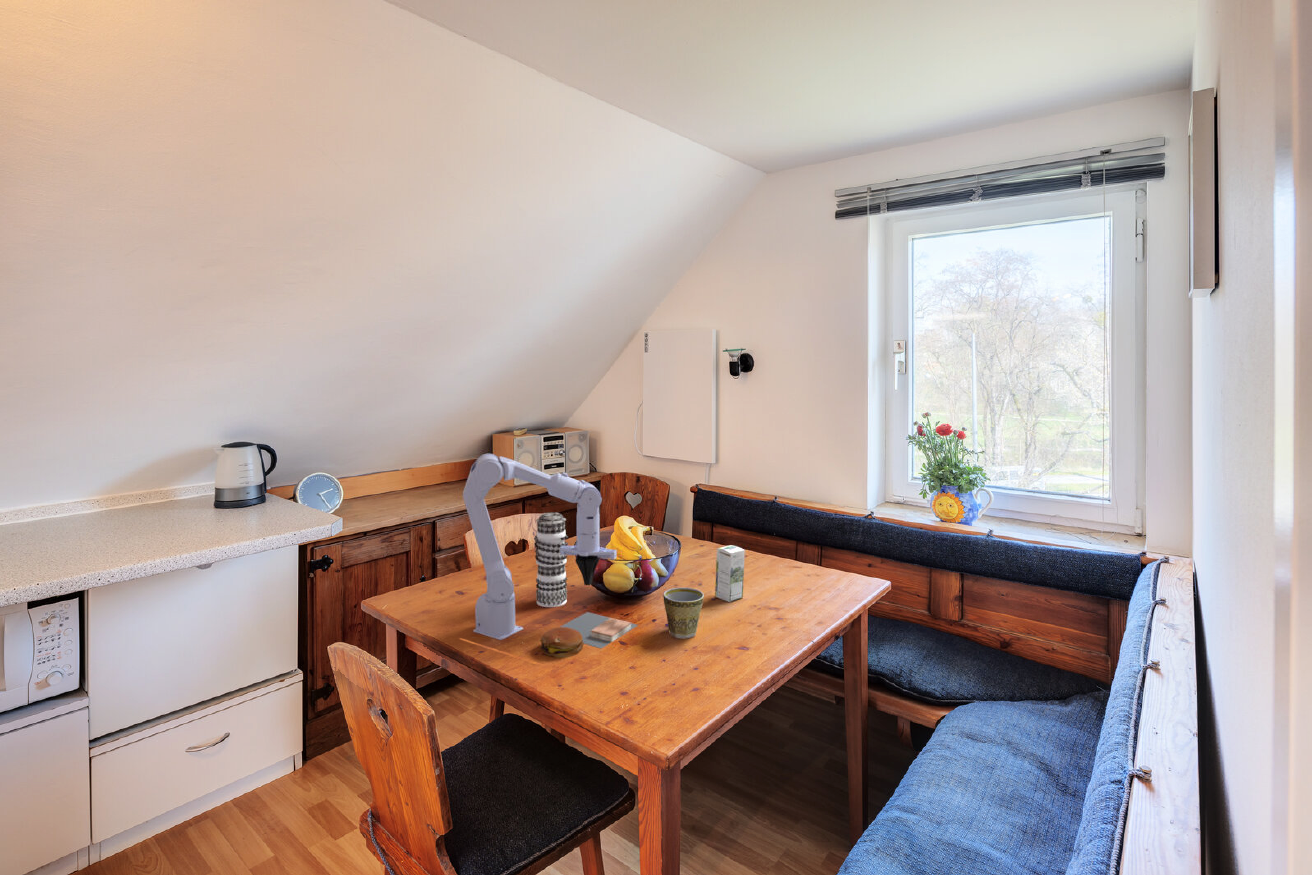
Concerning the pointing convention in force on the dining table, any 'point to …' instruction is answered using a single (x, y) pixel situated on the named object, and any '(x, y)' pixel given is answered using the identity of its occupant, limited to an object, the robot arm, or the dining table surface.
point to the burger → (562, 642)
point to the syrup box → (729, 573)
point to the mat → (590, 628)
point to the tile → (611, 629)
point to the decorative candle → (551, 560)
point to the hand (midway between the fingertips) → (588, 583)
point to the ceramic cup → (683, 611)
